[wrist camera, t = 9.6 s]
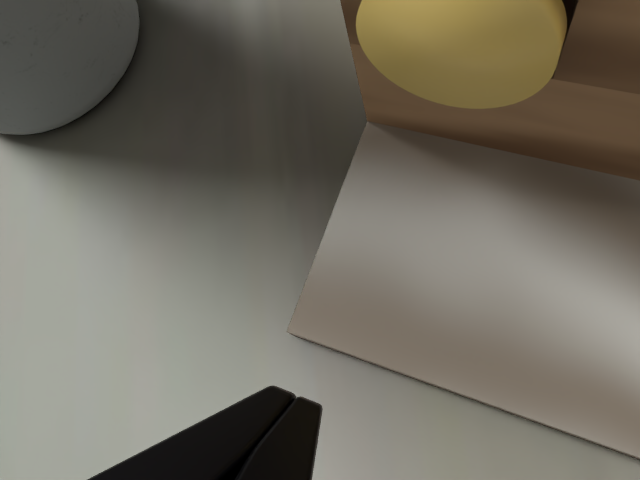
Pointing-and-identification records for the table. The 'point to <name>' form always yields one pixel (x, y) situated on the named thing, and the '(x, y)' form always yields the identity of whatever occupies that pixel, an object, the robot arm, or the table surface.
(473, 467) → the table surface
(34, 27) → the water bottle
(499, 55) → the knob
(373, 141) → the console
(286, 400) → the robot arm
